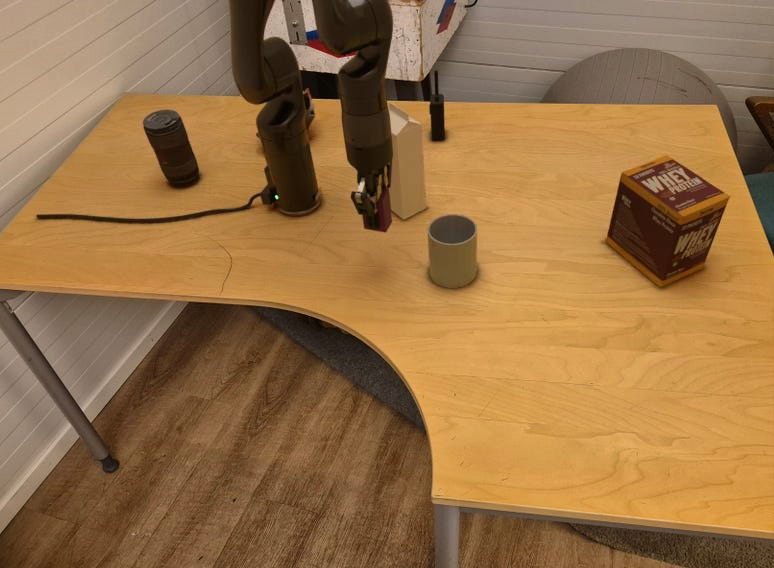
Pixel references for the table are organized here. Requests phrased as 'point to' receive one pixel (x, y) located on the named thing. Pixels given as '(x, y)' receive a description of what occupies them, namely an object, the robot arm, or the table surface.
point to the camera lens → (172, 147)
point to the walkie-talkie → (437, 113)
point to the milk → (406, 164)
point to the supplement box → (665, 219)
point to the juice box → (382, 211)
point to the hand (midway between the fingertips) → (377, 221)
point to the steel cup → (452, 250)
